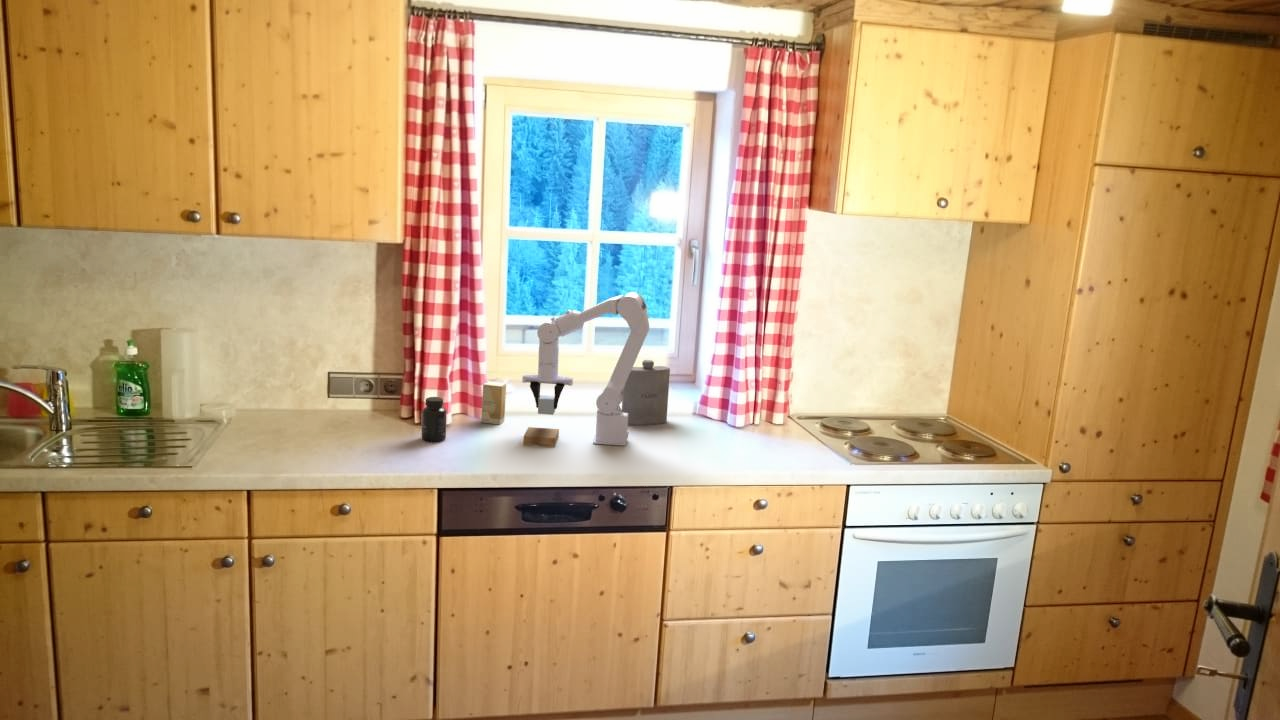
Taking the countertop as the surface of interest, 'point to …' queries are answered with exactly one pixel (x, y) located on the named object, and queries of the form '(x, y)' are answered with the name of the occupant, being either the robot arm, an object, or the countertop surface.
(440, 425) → the supplement bottle
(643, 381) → the flask
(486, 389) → the skincare box
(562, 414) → the countertop surface
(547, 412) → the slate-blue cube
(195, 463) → the countertop surface
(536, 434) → the walnut block
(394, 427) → the countertop surface
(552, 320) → the robot arm
